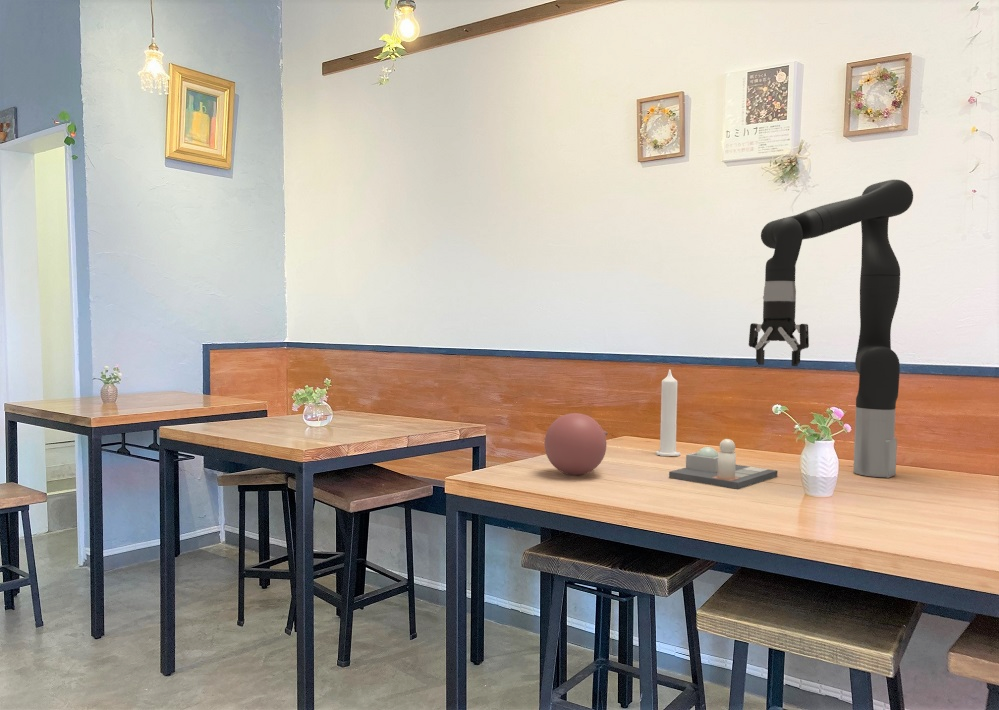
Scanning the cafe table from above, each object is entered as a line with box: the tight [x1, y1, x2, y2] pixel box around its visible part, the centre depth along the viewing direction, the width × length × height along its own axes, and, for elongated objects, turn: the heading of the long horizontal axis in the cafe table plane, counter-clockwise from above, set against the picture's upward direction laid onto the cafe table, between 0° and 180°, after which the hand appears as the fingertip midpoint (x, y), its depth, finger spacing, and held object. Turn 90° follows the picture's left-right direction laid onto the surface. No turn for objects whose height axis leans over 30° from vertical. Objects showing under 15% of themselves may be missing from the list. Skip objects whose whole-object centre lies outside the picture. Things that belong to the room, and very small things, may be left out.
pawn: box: [717, 438, 737, 479], centre depth 180 cm, size 4×4×9 cm
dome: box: [697, 446, 718, 458], centre depth 192 cm, size 5×5×5 cm
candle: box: [655, 369, 681, 457], centre depth 221 cm, size 7×7×25 cm
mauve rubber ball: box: [543, 412, 609, 476], centre depth 190 cm, size 15×20×15 cm
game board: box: [668, 451, 778, 490], centre depth 189 cm, size 18×22×5 cm
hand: (777, 365), depth 189 cm, fingers open, 8 cm apart
